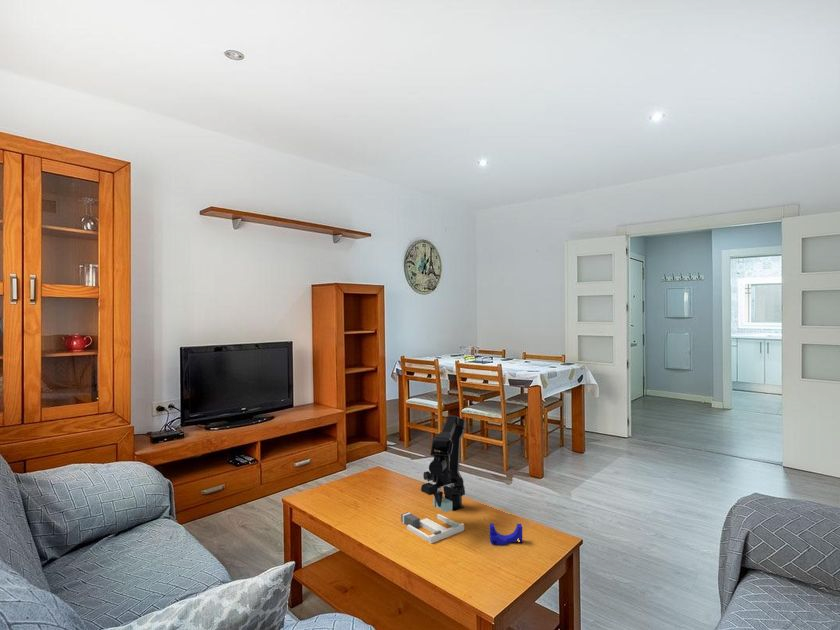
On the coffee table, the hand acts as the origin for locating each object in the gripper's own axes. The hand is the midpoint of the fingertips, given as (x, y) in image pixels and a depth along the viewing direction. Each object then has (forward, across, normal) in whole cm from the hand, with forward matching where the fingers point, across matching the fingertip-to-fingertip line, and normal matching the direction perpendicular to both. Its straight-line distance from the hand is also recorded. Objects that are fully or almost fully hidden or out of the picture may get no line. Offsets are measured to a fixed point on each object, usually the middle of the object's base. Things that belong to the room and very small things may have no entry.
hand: (442, 505), depth 194 cm
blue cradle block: (+9, -10, +25) cm, 29 cm away
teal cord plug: (+1, 0, 0) cm, 1 cm away
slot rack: (+8, +5, 0) cm, 10 cm away
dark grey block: (+8, +10, -9) cm, 16 cm away
